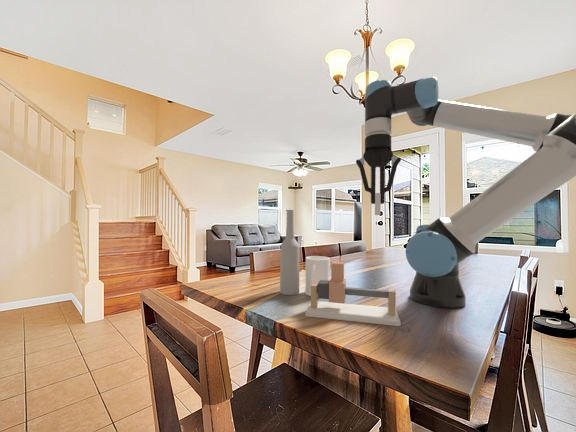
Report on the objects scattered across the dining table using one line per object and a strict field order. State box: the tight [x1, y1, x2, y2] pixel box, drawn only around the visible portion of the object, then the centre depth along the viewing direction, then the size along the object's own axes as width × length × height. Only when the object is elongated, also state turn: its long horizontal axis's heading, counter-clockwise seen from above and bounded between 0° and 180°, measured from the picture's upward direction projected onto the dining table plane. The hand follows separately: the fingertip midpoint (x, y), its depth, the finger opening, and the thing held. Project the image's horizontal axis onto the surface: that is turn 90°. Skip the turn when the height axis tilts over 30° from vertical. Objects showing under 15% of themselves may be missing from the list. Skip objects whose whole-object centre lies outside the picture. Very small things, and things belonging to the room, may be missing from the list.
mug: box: [304, 255, 331, 297], centre depth 89 cm, size 12×8×12 cm
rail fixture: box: [304, 280, 402, 327], centre depth 72 cm, size 23×10×8 cm, turn 75°
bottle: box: [279, 209, 300, 296], centre depth 91 cm, size 7×7×28 cm
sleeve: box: [328, 261, 347, 304], centre depth 73 cm, size 4×5×10 cm
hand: (377, 214), depth 81 cm, fingers closed
